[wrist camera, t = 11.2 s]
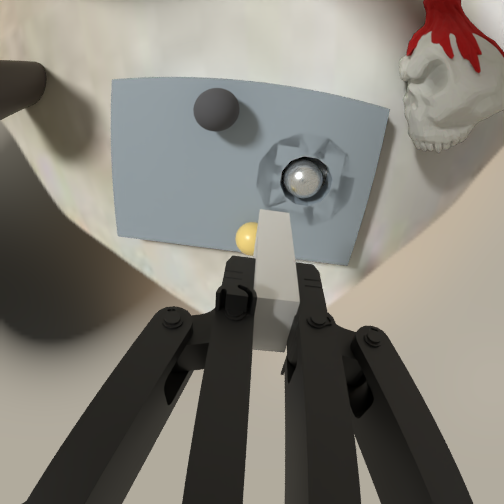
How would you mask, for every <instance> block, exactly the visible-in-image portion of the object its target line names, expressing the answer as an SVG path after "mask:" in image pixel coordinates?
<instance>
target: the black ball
mask: <svg viewBox="0 0 504 504" xmlns="http://www.w3.org/2000/svg"><path fill="white" fill-rule="evenodd" d="M239 109H240V108H239V103H238V100H237V98H236V97H235V96H234V95H233V94H232V93H231V92H230V91H228V90H226V89H222V88H212V89H208V90H206V91H204V92H203V93H201V94H200V95H199V97H198V98H197V99H196V101H195V104H194V108H193V112H194V117H195V119H196V121H197V123H198V124H199V125H200V126H201V127H203V128H204V129H206V130H209V131H214V132H218V131H223V130H226V129H228V128H229V127H231V126H232V125H233V124H234V123H235V122H236V120H237V118H238V115H239Z"/></svg>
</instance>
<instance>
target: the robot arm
mask: <svg viewBox="0 0 504 504" xmlns="http://www.w3.org/2000/svg"><path fill="white" fill-rule="evenodd" d="M286 346H287V356H286V359H285V362H284V365H283V368H282V371H281V375H283V374H284V372H285V504H361V496H360V484H359V474H358V464H357V456H356V446H355V438H354V435H355V437H356V439H357V442H358V445H359V447H360V450H361V452H362V455H363V457H364V460H365V462H366V465H367V468H368V470H369V473H370V475H371V478H372V480H373V483H374V486H375V489H376V491H377V494H378V496H379V499H380V502H381V504H473V502H472V499H471V497H470V495H469V492H468V490H467V488H466V485H465V483H464V481H463V478H462V476H461V474H460V472H459V469H458V467H457V465H456V463H455V461H454V459H453V457H452V454H451V452H450V450H449V448H448V446H447V444H446V443H445V440H444V438H443V436H442V434H441V432H440V430H439V428H438V426H437V424H436V422H435V420H434V418H433V416H432V414H431V412H430V410H429V409H428V407H427V405H426V403H425V401H424V399H423V397H422V396H421V394H420V392H419V390H418V388H417V386H416V385H415V383H414V381H413V379H412V377H411V376H410V374H409V372H408V370H407V369H406V367H405V365H404V363H403V362H402V360H401V358H400V356H399V355H398V353H397V352H396V350H395V348H394V346H393V345H392V343H391V341H390V340H389V338H388V336H387V335H386V334H385V333H384V332H383V331H382V330H380V329H379V328H377V327H373V326H363V327H361V328H360V329H359V330H358V331H357V332H354V331H350V330H347V329H344V328H342V327H340V326H338V325H337V324H336V323H335V321H334V319H333V317H332V316H331V315H330V314H329V313H327V308H326V303H325V298H324V293H323V289H322V283H321V278H320V274H319V271H318V270H317V269H316V268H315V266H314V265H312V264H304V263H296V262H295V254H294V246H293V238H292V230H291V223H290V215H289V213H286V212H279V211H271V210H263V209H260V212H259V219H258V226H257V233H256V240H255V247H254V255H253V258H248V257H240V256H232V257H231V258H230V259H229V260H228V261H227V262H226V267H225V272H224V278H223V282H222V286H220V287H219V288H218V290H217V292H216V306H215V308H214V309H213V310H212V311H210V312H208V313H205V314H200V315H192V316H191V315H190V313H189V312H188V311H186V310H185V309H183V308H180V307H175V306H173V307H166V308H163V309H161V310H159V311H158V312H157V313H156V314H155V315H154V316H153V318H152V319H151V320H150V322H149V323H148V324H147V326H146V327H145V328H144V330H143V331H142V332H141V334H140V335H139V336H138V338H137V339H136V341H135V342H134V343H133V344H132V346H131V347H130V349H129V350H128V351H127V353H126V354H125V356H124V357H123V358H122V360H121V361H120V363H119V364H118V365H117V367H116V368H115V369H114V371H113V372H112V373H111V375H110V376H109V378H108V379H107V380H106V382H105V383H104V385H103V386H102V387H101V389H100V390H99V392H98V393H97V394H96V396H95V397H94V399H93V400H92V402H91V403H90V404H89V406H88V407H87V409H86V410H85V412H84V413H83V415H82V416H81V417H80V419H79V420H78V422H77V423H76V425H75V426H74V428H73V429H72V431H71V432H70V434H69V435H68V437H67V438H66V440H65V441H64V443H63V444H62V446H61V447H60V449H59V450H58V452H57V453H56V455H55V456H54V458H53V459H52V461H51V463H50V464H49V466H48V467H47V469H46V471H45V472H44V474H43V475H42V477H41V478H40V480H39V482H38V484H37V485H36V486H35V488H34V489H33V491H32V493H31V494H30V496H29V498H28V499H27V501H26V502H24V503H23V504H122V503H123V501H124V499H125V497H126V495H127V493H128V492H129V490H130V488H131V486H132V484H133V482H134V481H135V479H136V477H137V475H138V473H139V471H140V470H141V468H142V466H143V464H144V462H145V460H146V459H147V457H148V455H149V453H150V451H151V449H152V447H153V445H154V444H155V442H156V440H157V438H158V436H159V434H160V432H161V431H162V429H163V427H164V425H165V423H166V421H167V419H168V418H169V416H170V414H171V412H172V410H173V408H174V407H175V405H176V403H177V401H178V399H179V397H180V395H181V393H182V392H183V390H184V388H185V386H186V384H187V382H188V380H189V378H190V377H191V375H192V373H193V371H194V370H200V369H204V374H203V379H202V384H201V390H200V396H199V402H198V408H197V413H196V419H195V425H194V431H193V438H192V443H191V450H190V455H189V462H188V468H187V475H186V481H185V488H184V495H183V501H182V504H243V490H244V488H243V487H244V473H245V459H246V444H247V429H248V428H247V427H248V412H249V396H250V380H251V363H252V349H254V350H264V351H275V352H285V349H286Z"/></svg>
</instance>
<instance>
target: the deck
mask: <svg viewBox="0 0 504 504" xmlns="http://www.w3.org/2000/svg"><path fill="white" fill-rule="evenodd" d="M212 88H222V89H226V90H228V91H230V92H231V93H232V94H233V95H234V96H235V97H236V98H237V100H238V103H239V108H240V109H239V115H238V118H237V120H236V122H235V123H234V124H233V125H232V126H231V127H229V128H228V129H226V130H223V131H218V132H214V131H209V130H206V129H204V128H203V127H201V126H200V125H199V124H198V123H197V121H196V119H195V117H194V112H193V108H194V104H195V101H196V99H197V98H198V97H199V95H200V94H201V93H203V92H204V91H206V90H208V89H212ZM389 111H390V109H388V108H384V107H381V106H377V105H374V104H370V103H366V102H362V101H359V100H355V99H351V98H346V97H342V96H338V95H333V94H329V93H324V92H319V91H314V90H308V89H303V88H297V87H291V86H284V85H277V84H270V83H262V82H253V81H243V80H232V79H218V78H197V77H148V78H127V79H114V80H112V93H111V156H112V177H113V192H114V204H115V215H116V224H117V233H118V236H120V237H128V238H136V239H143V240H151V241H159V242H167V243H174V244H182V245H190V246H198V247H205V248H213V249H221V250H229V251H237V252H241V251H240V250H239V248H238V247H237V245H236V240H235V238H236V233H237V231H238V229H239V228H240V227H241V226H242V225H243V224H245V223H248V222H256V223H258V219H259V212H260V209H263V210H271V211H279V212H286V213H289V215H290V223H291V230H292V238H293V246H294V254H295V259H299V260H307V261H315V262H323V263H331V264H339V265H346V266H348V263H349V260H350V257H351V254H352V251H353V247H354V244H355V241H356V238H357V235H358V232H359V228H360V225H361V222H362V219H363V215H364V212H365V208H366V205H367V201H368V198H369V194H370V191H371V187H372V183H373V179H374V176H375V172H376V168H377V164H378V160H379V156H380V152H381V147H382V143H383V139H384V134H385V130H386V125H387V120H388V116H389ZM303 156H306V157H312V158H317V159H319V160H320V161H321V162H323V163H324V164H325V165H326V168H327V171H328V172H327V177H326V181H325V184H324V185H323V186H322V187H321V188H320V190H319V191H318V192H317V193H316V194H315V195H313V196H311V197H309V198H298V197H295V196H293V195H292V194H290V193H289V192H288V190H287V189H286V188H285V187H284V186H283V184H282V182H281V174H282V171H283V170H284V168H285V167H286V166H287V165H288V164H289V163H290V161H292V160H295V159H298V158H301V157H303Z"/></svg>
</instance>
